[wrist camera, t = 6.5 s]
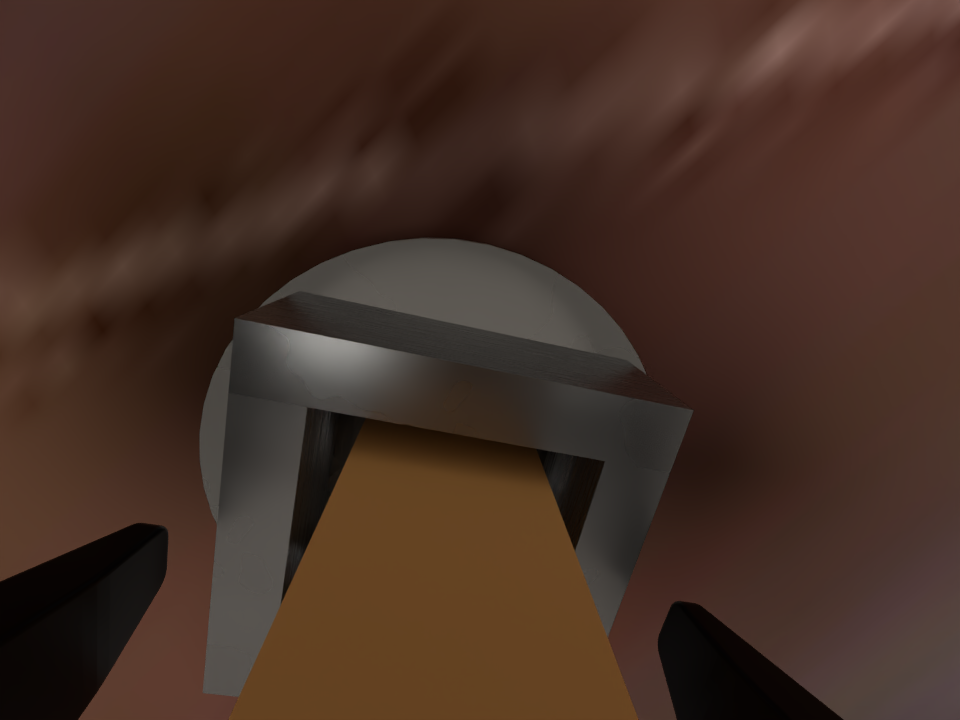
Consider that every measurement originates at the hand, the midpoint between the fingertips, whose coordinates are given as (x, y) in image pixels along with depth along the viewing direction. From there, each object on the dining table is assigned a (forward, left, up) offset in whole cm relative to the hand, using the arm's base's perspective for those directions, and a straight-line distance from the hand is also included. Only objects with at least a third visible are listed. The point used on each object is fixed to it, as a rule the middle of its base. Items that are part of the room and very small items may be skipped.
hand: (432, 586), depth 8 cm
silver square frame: (0, 0, -5) cm, 5 cm away
